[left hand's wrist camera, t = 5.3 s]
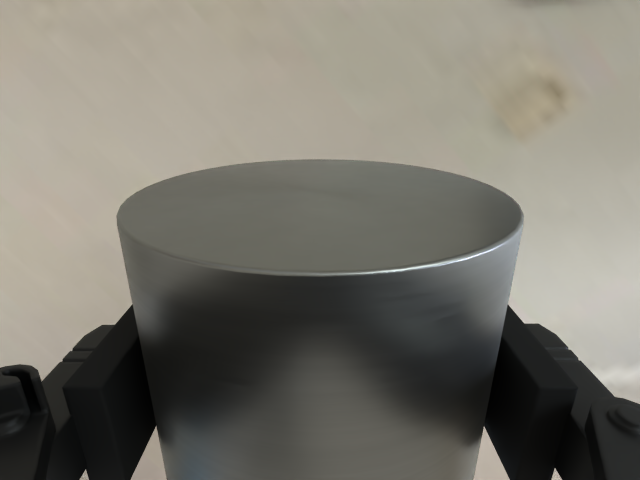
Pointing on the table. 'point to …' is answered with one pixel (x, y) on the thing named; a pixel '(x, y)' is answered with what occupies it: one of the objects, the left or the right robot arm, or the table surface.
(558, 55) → the table surface
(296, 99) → the table surface
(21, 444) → the left robot arm
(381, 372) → the rod
